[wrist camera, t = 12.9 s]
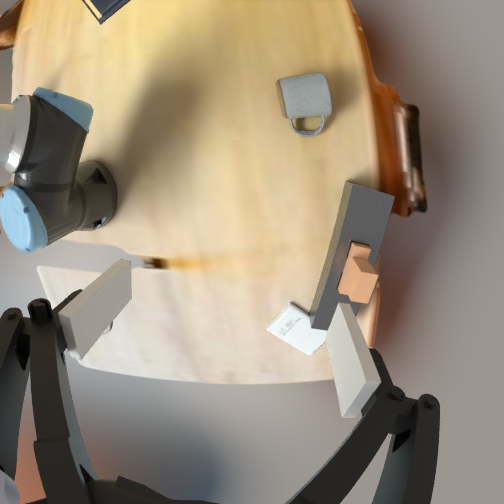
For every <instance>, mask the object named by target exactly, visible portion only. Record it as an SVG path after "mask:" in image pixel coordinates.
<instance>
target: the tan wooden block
mask: <svg viewBox="0 0 504 504" xmlns="http://www.w3.org/2000/svg"><path fill="white" fill-rule="evenodd" d="M370 251H371V249H370V248H369V246H368V245H363V244H362V243H360V242H356V241H351V243H350V246H349V250H348V258H347V261H346V264H345V267H344V270H343V272H341V276H340V279H339V282H338V283H339V286H338V291H339V293H340V294H345V295H348V296H349V298H350V300H351V301H354V302H360V303H366V304H368V302H369V299H370V297H371V294H372V292H373V289H374V286H375V284H376V281H377V278H378V274H377V272H376V271H375V270H374V268H373V267H372V266H371V264H370V263H369V262H368V257H369V254H370Z"/></svg>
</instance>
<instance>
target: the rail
mask: <svg viewBox="0 0 504 504" xmlns="http://www.w3.org/2000/svg"><path fill="white" fill-rule="evenodd" d="M394 198H395V196H393V195H390V194H388V193H385V192H382V191H379V190H376V189H372V188H369V187H365V186H361V185H358V184H354V183H350V182H347V181H346V182H345V186H344V190H343V195H342V199H341V203H340V207H339V211H338V215H337V219H336V223H335V227H334V231H333V235H332V239H331V242H330V246H329V250H328V253H327V257H326V260H325V264H324V267H323V271H322V274H321V277H320V281H319V284H318V287H317V291H316V294H315V297H314V300H313V303H312V306H311V309H310V313H309V319H310V326H311V328H312V329H319V330H326V331H328V329H329V326H330V324H331V321H332V319H333V316H334V313H335V311H336V308H337V305H338V303H346V304H350V306H351V308H352V310H353V313H354V315H355V316H356V314H357V311H358V309H359V306H360V304H361V303H360V302H354V301H351V300H350V298H349V296H348V295H345V294H340V293H339V291H338V286H339V283H338V282H339V279H340V276H341V272H343V270H344V267H345V264H346V261H347V258H348V250H349V246H350V243H351V241H356V242H360V243H362V244H363V245H368V246H369V248H370V249H371V251H370V254H369V257H368V262H369V263H370V264H371V266H372V267H373V268H374V266H375V263H376V260H377V257H378V254H379V250H380V247H381V244H382V241H383V238H384V234H385V231H386V227H387V224H388V220H389V217H390V213H391V209H392V205H393V202H394Z"/></svg>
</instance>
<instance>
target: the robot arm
mask: <svg viewBox="0 0 504 504" xmlns="http://www.w3.org/2000/svg"><path fill="white" fill-rule="evenodd" d="M92 116H93V108H92V106H91V105H90V104H88V103H86V102H84V101H81V100H79V99H76V98H73V97H70V96H67V95H64V94H61V93H57V92H54V91H51V90H48V89H45V88H41V87H38V88H37V89H36V90H35V91H34V92H33V96H27V95H24V96H21V97H20V98H19V99H18V100H17V101H16V102H14V103H13V104H11V105H6V104H0V164H2V165H4V167H5V168H6V170H7V171H8V172H9V173H15V178H14V184H13V185H10V186H8V187H7V188H6V189H5V190H4V192H3V193H2V195H1V198H0V216H1V221H2V224H3V227H4V230H5V232H6V234H7V236H8V238H9V240H10V241H11V242H12V243H13V245H14V246H15V247H16V248H18V249H19V250H21V251H23V252H27V253H29V252H33V251H35V250H38V249H42V248H44V247H45V246H47V245H49V244H51V243H52V242H54V241H56V240H58V239H60V238H62V237H64V236H66V235H68V234H69V233H71V232H73V231H93V230H96V229H98V228H100V227H102V226H104V225H106V224H107V223H108V222H109V221H110V219H111V218H112V216H113V214H114V212H115V209H116V204H117V190H116V185H115V182H114V179H113V177H112V175H111V173H110V172H109V171H108V169H107V168H106V167H105V166H103V165H102V164H100V163H98V162H95V161H87V162H81V163H79V161H80V157H81V153H82V149H83V146H84V142H85V139H86V136H87V133H89V126H90V123H91V119H92ZM131 299H132V288H131V261H128V260H123V259H120V260H119V261H118V262H116V263H115V264H114V265H113V266H111V268H109V269H108V270H107V271H105V272H104V273H103V274H102V275H101V276H99V277H98V278H97V279H96V280H95V281H93V282H92V283H91V284H90V285H89V286H88V287H86V288H85V289H84V290H81V289H79V290H77V291H75V292H73V293H71V294H70V295H69V296H68V297H67V298H66V299H64V300H63V302H61V303H60V304H59V305H58V306H56V307H55V308H54V309H53V310H52V309H51V304H50V301H48V300H47V299H44V298H39V299H35V300H33V301H32V302H30V303H29V304H28V311H29V314H30V318H27V317H23V314H22V312H21V310H20V309H19V308H9V309H7V310H6V311H5V312H4V313H3V314H2V316H1V318H0V504H18V500H19V499H20V494H19V492H18V491H17V487H16V485H15V483H14V479H15V473H16V464H17V447H18V436H19V427H20V419H21V413H22V406H23V401H24V395H25V390H26V385H27V381H28V376H29V372H30V377H31V393H32V405H33V414H34V421H35V428H36V434H37V441H34V452H35V457H36V461H37V465H38V470H39V473H40V477H41V481H42V485H43V488H44V491H45V494H46V498H44V499H41V500H37V501H34V502H31V503H27V504H217V503H212V502H206V501H190V500H172V499H169V498H167V497H165V496H163V495H161V494H159V493H157V492H156V491H154V490H152V489H150V488H148V487H147V486H145V485H143V484H140V483H137V482H134V481H131V480H129V479H126V478H124V477H121V476H118V478H117V480H112V479H102V480H99V479H98V477H97V475H96V473H95V471H94V469H93V467H92V465H91V463H90V460H89V457H88V454H87V451H86V448H85V446H84V442H83V439H82V435H81V432H80V428H79V425H78V421H77V417H76V413H75V409H74V405H73V400H72V396H71V391H70V386H69V380H68V374H67V368H66V362H65V355H64V351H65V349H66V348H67V349H68V352H69V355H70V356H71V357H74V358H76V359H78V360H80V361H81V360H82V359H83V357H84V356H85V355H86V353H87V352H88V351H89V350H90V348H91V347H92V346H93V345H94V343H95V342H96V341H97V340H98V338H99V337H100V336H101V335H102V333H103V332H104V331H105V330H106V328H107V327H108V326H109V325H110V324H111V322H112V321H113V320H114V319H115V318H116V316H117V315H118V314H119V313H120V312H121V310H122V309H123V308H124V307H125V306H126V304H127V303H128V302H129V301H130V300H131ZM325 339H326V343H327V348H328V352H329V357H330V361H331V366H332V370H333V375H334V380H335V384H336V389H337V394H338V400H339V405H340V410H341V415H342V418H356V416H357V415H358V414H359V413H360V411H361V412H362V416H363V417H362V419H361V420H360V421H359V422H358V424H357V425H356V426H355V427H354V429H353V430H352V432H351V433H350V434H349V436H348V437H347V438H346V439H345V441H344V442H343V443H342V444H341V446H340V447H339V448H338V449H337V450H336V452H335V453H334V454H333V455H332V456H331V457H330V458H329V460H328V461H327V462H326V463H325V464H324V465H323V466H322V468H321V469H320V470H319V471H318V472H317V473H316V474H315V475H314V476H313V477H312V478H311V479H310V480H309V481H308V482H307V483H306V484H305V485H304V486H303V487H302V488H301V489H300V490H299V491H298V492H297V493H296V494H295V495H294V496H293V497H292V498H291V499H289V500H288V501H287V502H286V503H285V504H340V503H341V502H342V500H343V499H344V498H345V496H346V495H347V494H348V493H349V491H350V490H351V489H352V487H353V486H354V485H355V483H356V482H357V481H358V479H359V478H360V477H361V475H362V474H363V472H364V471H365V469H366V468H367V467H368V465H369V463H370V462H371V461H372V459H373V458H374V456H375V454H376V453H377V451H378V450H379V448H380V446H381V445H382V443H383V441H384V440H385V438H386V436H387V435H388V433H389V434H392V437H391V441H390V445H389V450H388V454H387V458H386V461H385V464H384V468H383V471H382V475H381V478H380V481H379V484H378V487H377V490H376V493H375V496H374V499H373V502H372V504H430V502H431V497H432V492H433V487H434V480H435V473H436V466H437V457H438V445H439V428H440V427H439V426H440V405H439V402H438V400H437V399H436V398H435V397H434V396H432V395H430V394H423V395H421V396H420V398H419V399H418V400H415V399H412V398H408V397H406V396H405V393H404V392H403V390H401V389H400V388H399V387H396V386H394V385H393V383H392V380H391V378H390V375H389V373H388V371H387V369H386V366H385V364H384V361H383V359H382V357H381V355H380V353H378V351H377V350H376V349H372V348H368V346H367V344H366V341H365V339H364V336H363V334H362V331H361V329H360V327H359V324H358V322H357V320H356V317H355V315H354V313H353V310H352V308H351V306H350V304H346V303H338V305H337V308H336V311H335V313H334V316H333V319H332V321H331V324H330V326H329V329H328V331H327V334H326V336H325Z"/></svg>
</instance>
